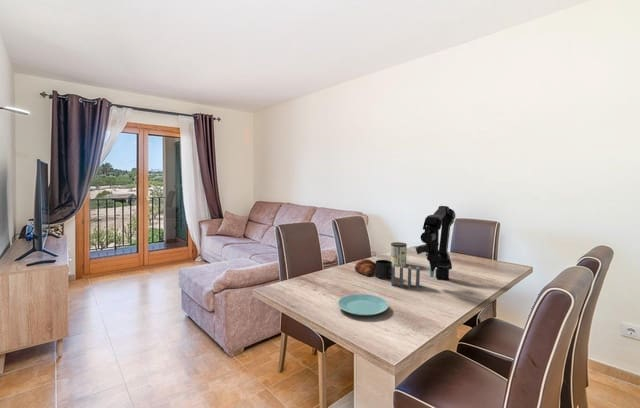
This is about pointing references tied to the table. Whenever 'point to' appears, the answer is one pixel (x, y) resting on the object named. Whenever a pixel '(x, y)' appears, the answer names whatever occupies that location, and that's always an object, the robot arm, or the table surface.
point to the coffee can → (398, 253)
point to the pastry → (365, 267)
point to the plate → (363, 304)
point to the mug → (383, 269)
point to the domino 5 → (431, 273)
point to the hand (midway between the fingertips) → (431, 269)
